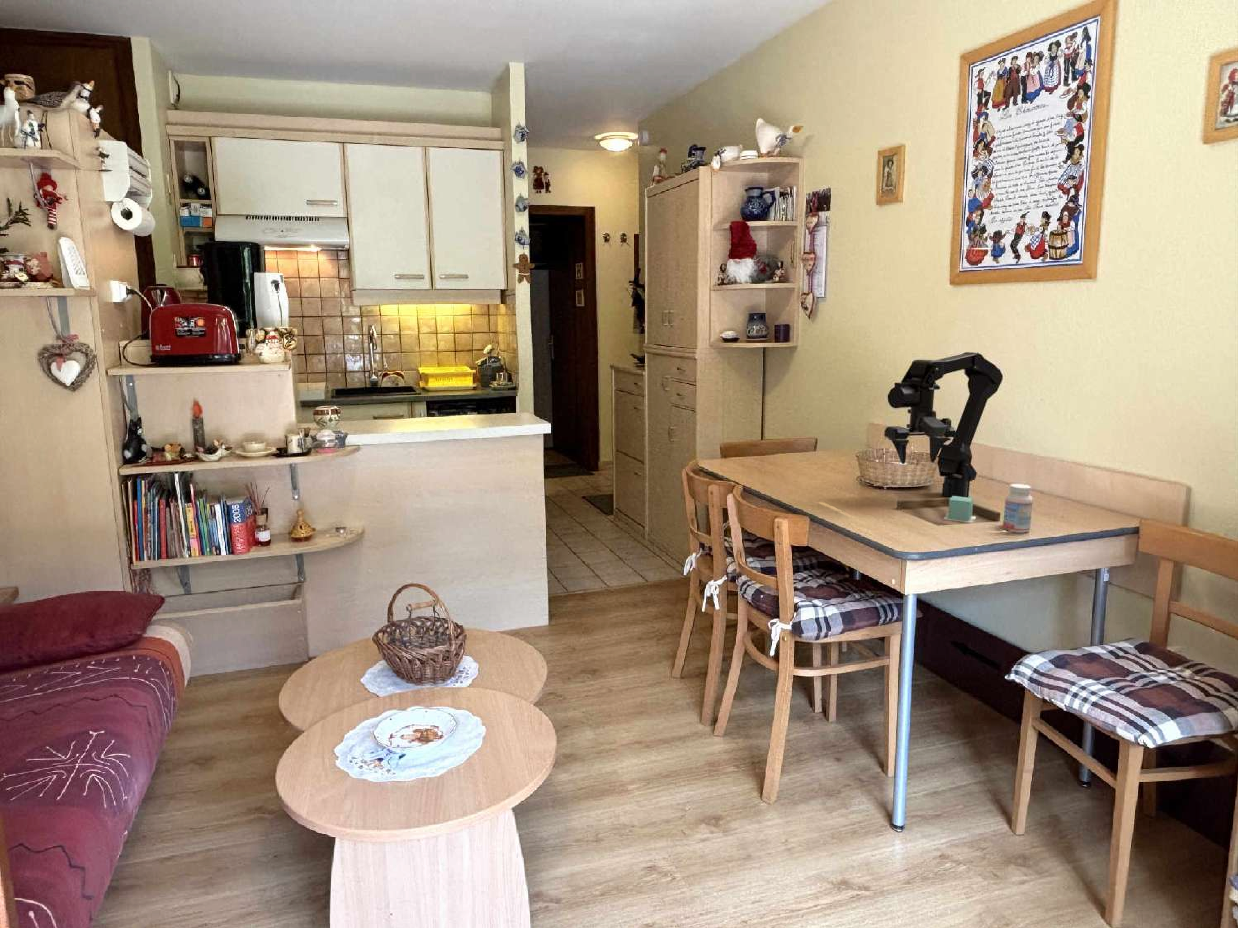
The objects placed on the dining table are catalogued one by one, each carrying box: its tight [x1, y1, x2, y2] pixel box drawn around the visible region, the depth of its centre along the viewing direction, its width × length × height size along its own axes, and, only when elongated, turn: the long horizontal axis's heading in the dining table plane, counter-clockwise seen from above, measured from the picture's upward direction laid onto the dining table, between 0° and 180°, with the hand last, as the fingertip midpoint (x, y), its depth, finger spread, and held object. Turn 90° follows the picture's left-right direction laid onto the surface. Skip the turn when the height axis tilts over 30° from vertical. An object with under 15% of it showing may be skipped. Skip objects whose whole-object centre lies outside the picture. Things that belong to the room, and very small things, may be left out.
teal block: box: [948, 496, 974, 521], centre depth 212 cm, size 5×5×5 cm
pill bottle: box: [1002, 483, 1034, 534], centre depth 203 cm, size 6×6×11 cm
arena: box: [896, 497, 1001, 526], centre depth 216 cm, size 18×18×3 cm
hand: (917, 463), depth 228 cm, fingers open, 9 cm apart
